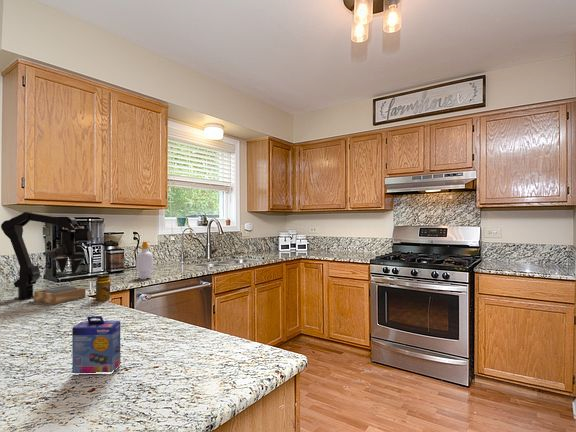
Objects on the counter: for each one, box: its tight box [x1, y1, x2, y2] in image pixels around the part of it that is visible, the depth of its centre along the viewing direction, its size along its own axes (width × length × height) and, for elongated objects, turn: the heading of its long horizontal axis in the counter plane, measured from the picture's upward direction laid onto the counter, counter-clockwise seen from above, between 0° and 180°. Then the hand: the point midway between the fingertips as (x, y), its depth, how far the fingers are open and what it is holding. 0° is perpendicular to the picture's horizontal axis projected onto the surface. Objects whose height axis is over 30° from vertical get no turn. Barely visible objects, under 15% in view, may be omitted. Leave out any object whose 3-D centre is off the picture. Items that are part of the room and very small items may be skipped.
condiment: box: [90, 274, 112, 303], centre depth 162 cm, size 7×8×12 cm
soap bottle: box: [135, 241, 154, 280], centre depth 222 cm, size 10×10×24 cm
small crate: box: [44, 284, 76, 294], centre depth 164 cm, size 10×6×5 cm, turn 157°
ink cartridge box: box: [71, 315, 122, 374], centre depth 86 cm, size 10×6×14 cm, turn 95°
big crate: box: [33, 286, 86, 305], centre depth 164 cm, size 15×15×4 cm
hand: (67, 272), depth 170 cm, fingers open, 9 cm apart
